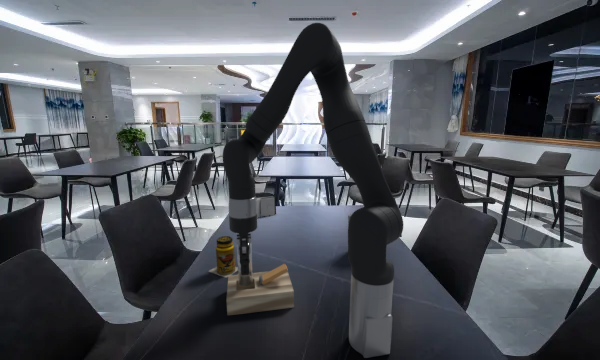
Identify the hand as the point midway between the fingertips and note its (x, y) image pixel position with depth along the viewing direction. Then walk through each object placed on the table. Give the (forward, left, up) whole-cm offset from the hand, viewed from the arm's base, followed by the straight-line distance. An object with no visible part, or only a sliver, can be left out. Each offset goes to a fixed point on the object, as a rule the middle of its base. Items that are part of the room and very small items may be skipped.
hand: (245, 270), depth 82 cm
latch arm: (0, -8, -3) cm, 9 cm away
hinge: (+75, -11, -10) cm, 76 cm away
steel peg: (0, 0, -4) cm, 4 cm away
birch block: (0, -4, -9) cm, 10 cm away
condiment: (+19, +7, -10) cm, 22 cm away
